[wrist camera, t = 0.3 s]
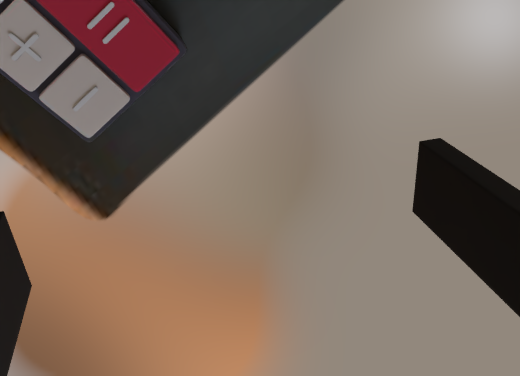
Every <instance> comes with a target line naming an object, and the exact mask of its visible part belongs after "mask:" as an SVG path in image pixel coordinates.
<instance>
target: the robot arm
mask: <svg viewBox="0 0 520 376" xmlns="http://www.w3.org/2000/svg"><path fill="white" fill-rule="evenodd" d="M413 212H414V213H415V214H416V215H417V216H418V217H419V218H420V219H421V220H422V221H423V222H424V223H425V224H426V225H427V226H428V227H429V228H430V229H431V230H432V231H433V232H434V233H435V234H436V235H437V236H438V237H439V238H440V239H441V240H442V241H443V242H444V243H445V244H446V245H447V246H448V247H449V248H450V249H451V250H452V251H453V252H454V253H455V254H456V255H457V256H458V257H459V258H460V259H461V260H462V261H464V262H465V263H466V265H468V266H469V267H470V268H471V269H472V270H473V271H474V272H475V273H476V274H477V275H478V276H479V277H480V278H481V279H482V280H483V281H484V282H485V283H486V284H487V285H488V286H489V287H490V288H491V289H492V290H493V291H494V292H495V293H496V294H497V295H498V296H499V297H500V298H501V299H503V301H504V302H505V303H506V304H507V305H508V306H509V307H510V308H511V309H512V310H513V311H514V312H515V313H516V314H517V315H518V316H519V317H520V190H518V189H517V188H515V187H514V186H512V185H511V184H509V183H507V182H506V181H505V180H503V179H502V178H500V177H498V176H497V175H495V174H494V173H492V172H491V171H489V170H488V169H486V168H485V167H483V166H482V165H480V164H479V163H477V162H476V161H474V160H473V159H471V158H470V157H468V156H467V155H465V154H464V153H462V152H461V151H459V150H458V149H456V148H455V147H453V146H451V145H450V144H448V143H447V142H445V141H444V140H442V139H441V138H438V139H432V140H426V141H420V142H419V152H418V162H417V173H416V182H415V192H414V203H413ZM31 286H32V285H31V282H30V280H29V277H28V275H27V272H26V269H25V266H24V264H23V261H22V258H21V256H20V253H19V251H18V248H17V245H16V243H15V240H14V237H13V235H12V232H11V229H10V227H9V224H8V222H7V219H6V216H5V213H4V212H3V211H2V212H0V376H7V374H8V370H9V367H10V363H11V359H12V356H13V352H14V349H15V345H16V341H17V338H18V334H19V330H20V327H21V323H22V319H23V315H24V311H25V308H26V305H27V301H28V297H29V294H30V290H31Z"/></svg>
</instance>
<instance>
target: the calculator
mask: <svg viewBox="0 0 520 376" xmlns="http://www.w3.org/2000/svg"><path fill="white" fill-rule="evenodd" d="M186 52H187V47H186V45H185V43H184V42H183V40H182V38H181V37H180V36H179V35H178V34H177V33H176V31H175V30H174V29H173V28H172V27H171V26H170V25H169V24H168V23H167V22H166V21H165V20H164V18H163V17H162V16H161V15H160V14H159V13H158V12H157V11H156V10H155V9H154V8H153V6H152V5H151V4H150V3H149V2H148V1H147V0H0V73H1V74H2V75H3V76H5V77H6V78H7V79H8V80H10V81H11V82H12V83H13V84H15V85H16V86H17V87H18V88H20V89H21V90H22V91H23V92H25V93H26V94H27V95H28V96H30V97H31V98H32V99H33V100H35V101H36V102H37V103H38V104H40V105H41V106H42V107H43V108H45V109H46V110H47V111H48V112H50V113H51V114H52V115H53V116H55V117H56V118H57V119H58V120H60V121H61V122H62V123H63V124H65V125H66V126H67V127H68V128H70V129H71V130H72V131H73V132H75V133H76V134H77V135H78V136H80V137H81V138H82V139H83V140H85V141H86V142H92V141H94V140H95V139H96V138H97V137H98V136H99V135H100V134H101V133H102V132H103V131H104V130H105V129H106V128H108V127H109V126H110V125H111V124H112V123H113V122H114V121H115V120H116V119H117V118H118V117H119V116H120V115H121V114H122V113H123V112H124V111H126V110H127V109H128V108H129V107H130V106H131V105H132V104H133V103H134V102H135V101H136V100H137V99H138V98H139V97H140V96H141V95H143V94H144V93H145V92H146V91H147V90H148V89H149V88H150V87H151V86H152V85H153V84H154V83H155V82H156V81H157V80H158V79H160V78H161V77H162V76H163V75H164V74H165V73H166V72H167V71H168V70H169V69H170V68H171V67H172V66H173V65H174V64H175V63H177V62H178V61H179V60H180V59H181V58H182V57H183V56H184V55H185V54H186Z"/></svg>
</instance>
